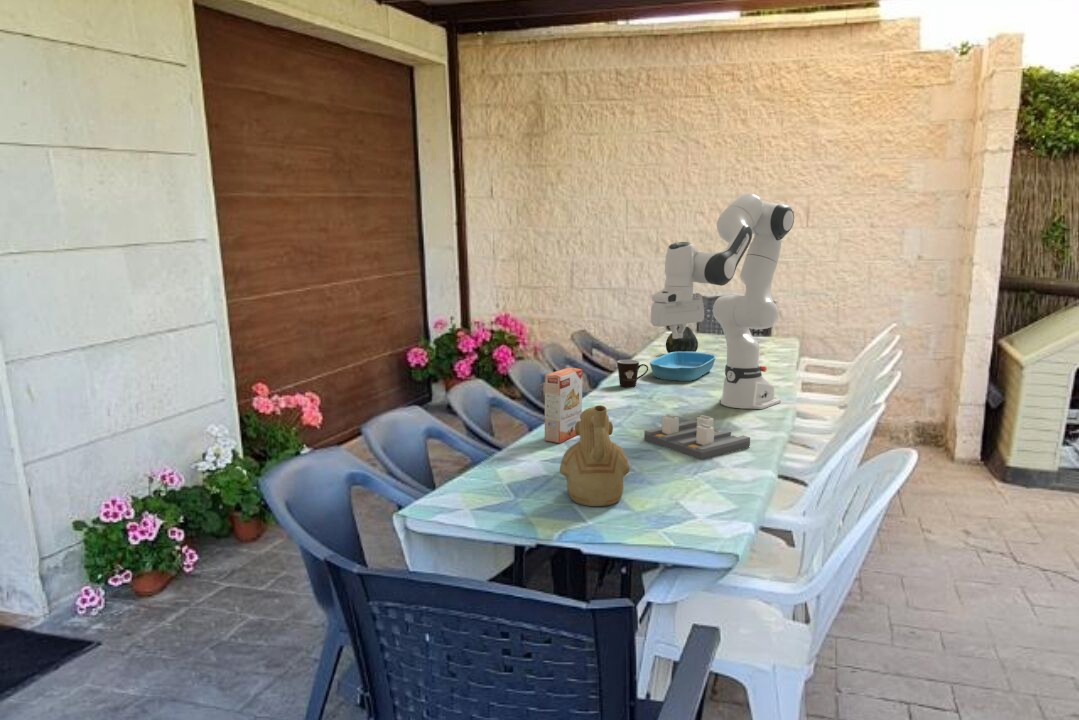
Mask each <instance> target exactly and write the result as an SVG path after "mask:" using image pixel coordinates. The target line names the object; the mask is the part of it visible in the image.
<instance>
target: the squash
mask: <svg viewBox="0 0 1079 720" xmlns="http://www.w3.org/2000/svg"><path fill="white" fill-rule="evenodd" d="M678 330H679V328H677V332H678ZM698 348H699V342H698V338H697V336H696V335H695V334H694V332H693V330H692V329H691V327H689V326H686V328H685V330H684V332H683V338H678V339H674V338H673V337H672V332H671V333H670V334H669V335H668V337H667V339H666V341H665V349H666V351H667V353H670V352H698Z"/></svg>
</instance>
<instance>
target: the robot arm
mask: <svg viewBox="0 0 1079 720" xmlns="http://www.w3.org/2000/svg"><path fill="white" fill-rule="evenodd" d="M794 222H795V214H794V211H793V209H792V207H791V206H789V205H786V204H783V203H774V202H766V201H762V199H761V198H760V196H758V195H756V194H755V193H744V194H742V195H740V196H739V197H737V198H735V200H734V201H732V202H731V203H730V204H728V206H727V207H726V208H725V209H724V210H723V211H722V212H721V213H720V215H719V217H718V219H717V220H716V229H717V232H718V236H720V238H721V239H722V240H723V241H724V242H726V243H728V245H727V246H726V248H724V249H725V250H723V251H718V252H702V251H699V250H697V249H695V248H694V246H693V245H692V243H691V242H689V241H680V242H678V241H677V242H673V243H671V244H669V245H668V246H667V249H666V253H665V263H664V273H665V282H664V288H662V289H661V290H659V291H657V292H655V293H653V294H652V296H651V300H652V302H653V303H652V305H651V308H650V323H651V325H652V326H653V327H658V328H661V327H668V326H669V329H670V331H671V333H672V337H673V338H674V339H678V338H683V332H684V330H685V328H686V327H687V325H688V324H693V323H694V324H695V323H701V322H702V323H703V321H704V319H705V308H704V305H705V304H704V302H703V300H704V299H703V296H702V295H701V294H700V293H699V292H694V283H698V284H708V285H709V284H711V285H714V286H715V285H716V286H721V287H722V286H725V285H727V284H728V283H729V282H731V280H732V279H733V277H734V275H735V273H736V270H737V267H738V265H739V263H740V262H741V260H742V258H743V256H744V255H745V258H744V261H743V264H742V267H741V270H740V273H739V277H740V281H741V282H742V283H743V284H744V285H745V294H744V295H738V294H728V295H727V294H726V295H722V296H719V297H718V298H717V299H716V300H715V301H714V304H713V306H712V315H713V317H714V318H715V320H716V321H717V323H718V324H719V325H720V327H721V329H722V331H723V334H724V337H725V341H726V365H725V368H724V374H725V378H724V381H723V388H722V395H721V396H720V399H719V400H720V404H721V405H723V406H724V407H728V408H732V409H733V408H735V409H754V410H763V409H766V408H769V407H771V406H775V405H776V404H780V403H781V402H782V400H781V398H779V397H776V396H775V388H774V385H773V384H772V383H770V382H769V381H768V380H767V379H766V378H765V377H764V376H763V373H765V372H767V366H765V365H764V366H763V365H760V362H759V360H760V345H759V342H758V341H757V340H756V339H755V338H754V337H753V335H752V333H751V330H750V329H752V330H765V329H769V328H773V326H775V324H776V322H777V321H778V316H779V309H778V307H777V305H776V303H775V302H774V300H773V298H772V281H773V278H774V275H775V271H776V267H777V265H778V262H779V257H780V253H781V248H782V247H781V246H782V240H783V239H784V237H786V236H787V235H788V233H790V231H791V230H792V229H793V226H794ZM753 236H754V237H753ZM745 253H746V254H745ZM678 329H679V330H678ZM677 330H678V332H677ZM762 372H763V373H762Z"/></svg>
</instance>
